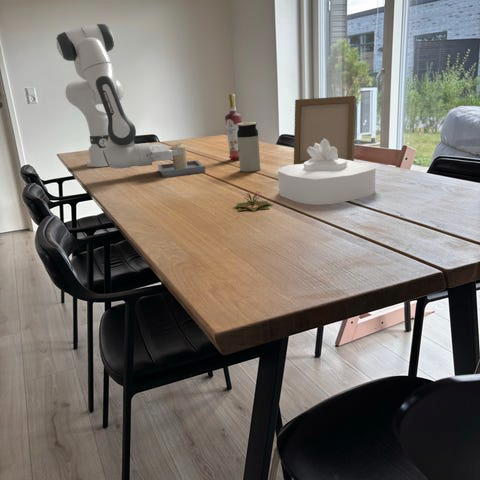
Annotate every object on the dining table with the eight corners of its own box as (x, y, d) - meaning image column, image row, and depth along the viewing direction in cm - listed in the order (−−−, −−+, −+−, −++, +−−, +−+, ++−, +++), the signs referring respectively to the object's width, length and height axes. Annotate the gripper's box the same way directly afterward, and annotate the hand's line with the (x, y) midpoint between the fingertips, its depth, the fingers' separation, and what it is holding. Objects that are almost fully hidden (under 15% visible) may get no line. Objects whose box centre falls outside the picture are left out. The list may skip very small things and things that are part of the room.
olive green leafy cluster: (232, 204, 136) (230, 189, 134) (272, 201, 135) (272, 186, 134) (231, 215, 124) (229, 199, 123) (276, 212, 124) (275, 195, 123)
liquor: (248, 158, 209) (243, 93, 200) (239, 161, 204) (234, 94, 195) (234, 157, 213) (229, 94, 204) (225, 160, 208) (219, 95, 198)
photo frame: (351, 168, 168) (351, 96, 161) (293, 168, 177) (291, 100, 169) (358, 161, 181) (358, 94, 174) (303, 162, 190) (301, 98, 182)
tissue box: (314, 208, 123) (312, 148, 118) (269, 192, 145) (266, 140, 140) (387, 193, 133) (389, 136, 128) (335, 179, 155) (334, 130, 149)
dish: (158, 170, 197) (157, 164, 196) (198, 165, 200) (197, 160, 200) (162, 177, 181) (161, 171, 180) (205, 172, 185) (204, 166, 184)
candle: (185, 169, 187) (182, 144, 184) (172, 170, 188) (168, 145, 185) (189, 166, 192) (186, 142, 189) (176, 167, 193) (173, 143, 190)
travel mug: (262, 168, 184) (259, 121, 178) (257, 172, 176) (253, 123, 171) (243, 168, 186) (240, 122, 180) (237, 172, 179) (233, 124, 173)
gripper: (146, 149, 174) (183, 145, 177) (143, 143, 193) (176, 140, 196) (149, 166, 176) (185, 161, 179) (145, 158, 195) (178, 155, 198)
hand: (180, 150), depth 188 cm, fingers closed on candle, 5 cm apart
